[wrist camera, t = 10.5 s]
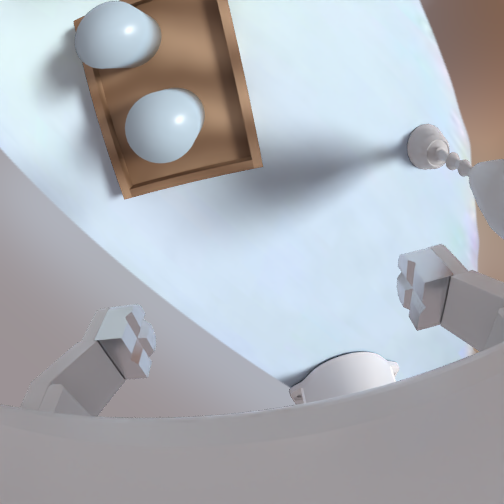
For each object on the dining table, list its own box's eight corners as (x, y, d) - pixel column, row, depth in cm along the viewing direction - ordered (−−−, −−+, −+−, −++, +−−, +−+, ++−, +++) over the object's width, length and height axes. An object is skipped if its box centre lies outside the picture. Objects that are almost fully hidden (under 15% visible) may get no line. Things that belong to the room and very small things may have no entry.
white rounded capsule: (167, 57, 22) (149, 53, 17) (111, 76, 22) (82, 79, 17) (155, 5, 19) (135, -10, 14) (100, 26, 20) (69, 19, 15)
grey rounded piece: (197, 80, 24) (188, 82, 18) (210, 136, 26) (205, 153, 21) (139, 97, 24) (116, 104, 19) (154, 151, 27) (136, 171, 21)
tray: (261, 160, 29) (263, 166, 27) (130, 191, 29) (124, 199, 28) (221, -23, 19) (220, -29, 17) (83, 23, 20) (73, 21, 18)
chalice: (386, 153, 28) (508, 248, 13) (420, 101, 25) (563, 157, 10) (430, 189, 31) (538, 288, 15) (461, 142, 28) (584, 217, 12)
